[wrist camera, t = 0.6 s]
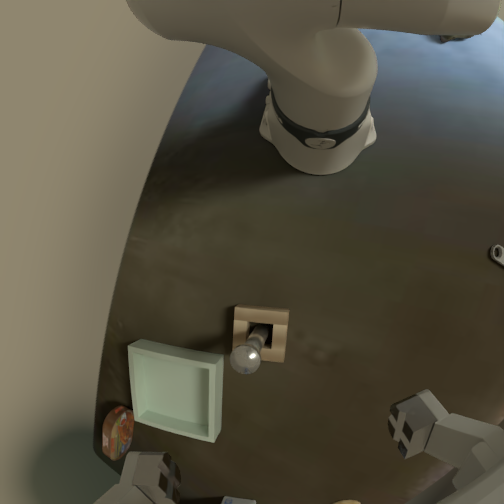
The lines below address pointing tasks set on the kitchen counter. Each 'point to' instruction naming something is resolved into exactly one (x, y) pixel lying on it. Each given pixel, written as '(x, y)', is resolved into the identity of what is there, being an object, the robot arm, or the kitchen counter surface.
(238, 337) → the block
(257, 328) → the steel pin
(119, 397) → the kitchen counter surface
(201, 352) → the tray
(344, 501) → the hand bell
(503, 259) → the adjustable wrench
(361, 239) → the kitchen counter surface
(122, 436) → the tin
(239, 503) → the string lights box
